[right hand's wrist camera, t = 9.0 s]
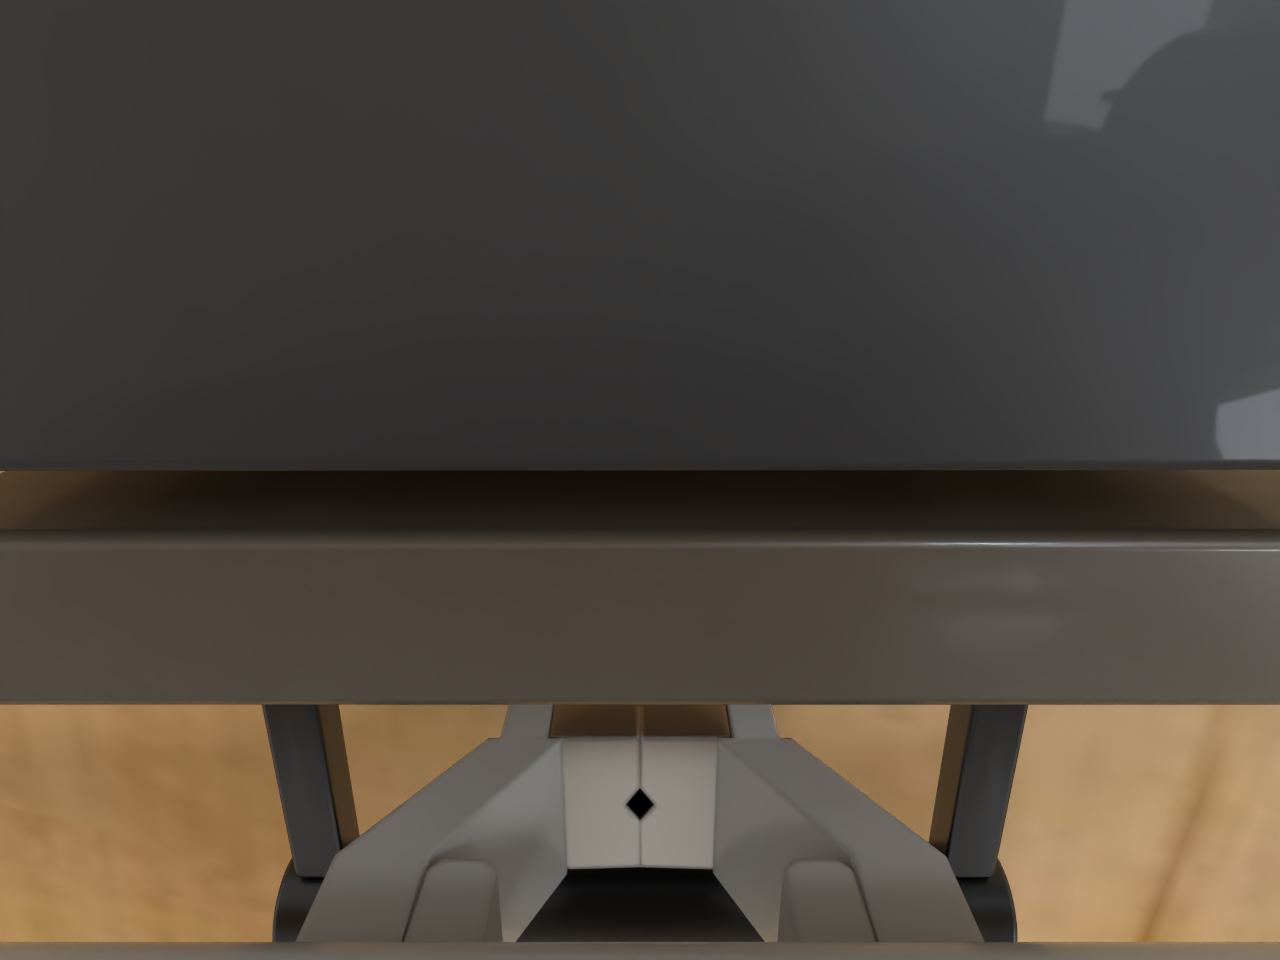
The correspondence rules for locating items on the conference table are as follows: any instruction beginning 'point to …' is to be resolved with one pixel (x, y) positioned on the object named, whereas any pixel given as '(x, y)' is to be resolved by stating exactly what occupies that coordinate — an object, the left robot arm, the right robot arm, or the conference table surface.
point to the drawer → (642, 619)
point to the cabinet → (639, 235)
